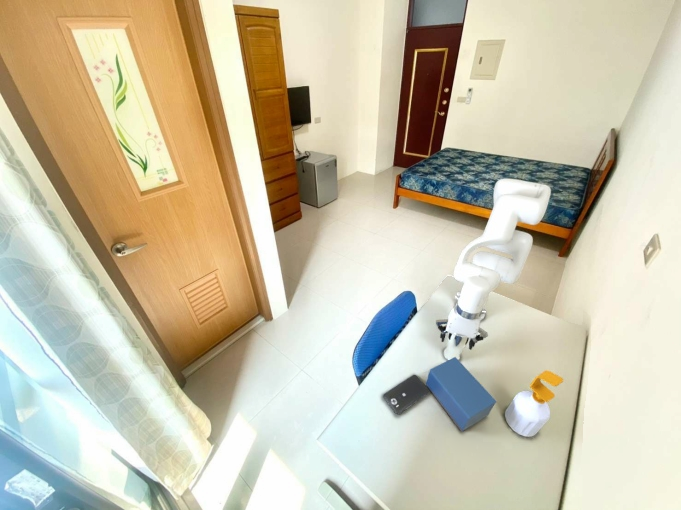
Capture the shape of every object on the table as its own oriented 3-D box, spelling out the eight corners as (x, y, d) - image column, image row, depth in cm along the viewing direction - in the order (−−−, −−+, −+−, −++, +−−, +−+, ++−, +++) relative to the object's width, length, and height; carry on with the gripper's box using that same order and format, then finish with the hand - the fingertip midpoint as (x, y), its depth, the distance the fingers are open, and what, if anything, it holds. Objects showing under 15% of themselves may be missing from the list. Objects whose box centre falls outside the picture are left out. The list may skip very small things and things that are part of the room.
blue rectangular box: (424, 385, 98) (430, 369, 92) (448, 373, 102) (455, 356, 96) (461, 433, 86) (469, 417, 80) (486, 417, 89) (496, 401, 84)
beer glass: (440, 358, 107) (449, 332, 99) (444, 344, 112) (452, 319, 104) (459, 365, 104) (470, 340, 96) (462, 351, 110) (472, 326, 101)
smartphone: (382, 396, 95) (382, 394, 95) (414, 374, 101) (415, 373, 101) (396, 416, 90) (397, 414, 89) (430, 392, 96) (430, 390, 96)
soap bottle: (524, 443, 83) (561, 400, 69) (498, 415, 90) (527, 371, 76) (543, 428, 87) (582, 384, 73) (516, 402, 93) (547, 357, 79)
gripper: (495, 308, 94) (480, 341, 104) (442, 296, 99) (432, 329, 109) (497, 324, 88) (481, 358, 98) (440, 310, 93) (431, 344, 103)
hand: (455, 342), depth 103 cm, fingers open, 9 cm apart
